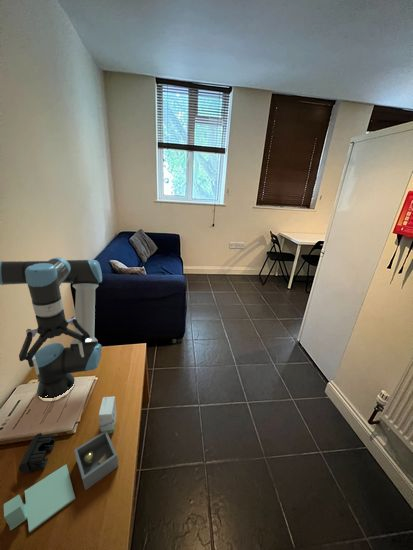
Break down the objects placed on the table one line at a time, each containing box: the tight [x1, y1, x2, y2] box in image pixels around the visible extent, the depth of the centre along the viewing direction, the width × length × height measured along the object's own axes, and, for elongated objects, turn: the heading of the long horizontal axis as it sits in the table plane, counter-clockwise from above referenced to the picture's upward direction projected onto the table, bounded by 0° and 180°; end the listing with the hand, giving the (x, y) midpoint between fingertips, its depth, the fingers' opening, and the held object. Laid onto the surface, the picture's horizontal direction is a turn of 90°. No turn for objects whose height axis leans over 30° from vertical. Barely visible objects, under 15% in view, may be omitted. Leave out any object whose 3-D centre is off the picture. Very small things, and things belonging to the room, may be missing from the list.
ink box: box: [98, 395, 118, 435], centre depth 92 cm, size 8×5×12 cm, turn 12°
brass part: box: [84, 451, 94, 467], centre depth 81 cm, size 3×3×4 cm
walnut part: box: [98, 454, 110, 465], centre depth 80 cm, size 3×3×3 cm
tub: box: [73, 431, 119, 491], centre depth 80 cm, size 11×11×7 cm
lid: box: [3, 463, 76, 534], centre depth 70 cm, size 12×16×8 cm
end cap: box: [18, 432, 56, 474], centre depth 81 cm, size 10×7×7 cm
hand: (61, 363), depth 79 cm, fingers open, 13 cm apart
